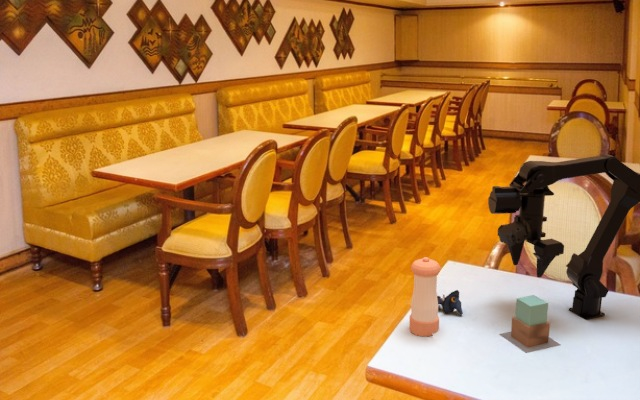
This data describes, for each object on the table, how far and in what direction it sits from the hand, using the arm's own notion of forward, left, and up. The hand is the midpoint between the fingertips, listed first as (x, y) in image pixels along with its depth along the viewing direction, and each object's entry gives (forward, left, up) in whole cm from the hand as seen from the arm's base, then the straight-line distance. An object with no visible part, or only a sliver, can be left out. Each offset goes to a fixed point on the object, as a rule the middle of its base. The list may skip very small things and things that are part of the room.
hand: (527, 270), depth 155 cm
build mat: (+8, +12, -12) cm, 19 cm away
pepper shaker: (+28, -3, -13) cm, 31 cm away
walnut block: (+8, +12, -12) cm, 19 cm away
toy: (+18, -12, -13) cm, 25 cm away
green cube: (+8, +12, -7) cm, 16 cm away
